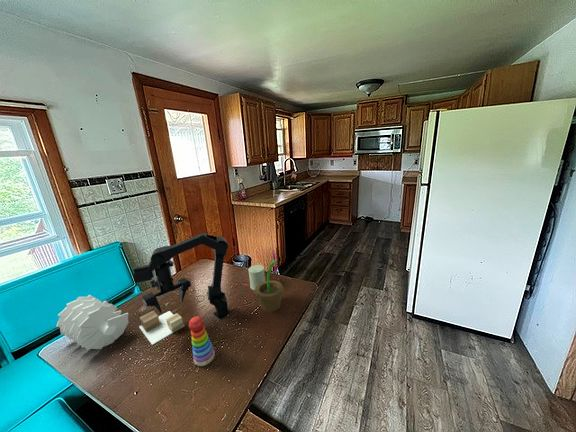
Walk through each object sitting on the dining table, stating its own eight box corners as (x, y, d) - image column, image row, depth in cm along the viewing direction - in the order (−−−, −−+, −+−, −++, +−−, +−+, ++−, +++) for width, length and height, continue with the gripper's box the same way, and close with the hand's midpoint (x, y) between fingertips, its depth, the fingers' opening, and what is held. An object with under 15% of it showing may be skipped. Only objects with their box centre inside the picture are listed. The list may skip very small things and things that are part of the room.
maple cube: (183, 326, 106) (181, 317, 105) (172, 333, 103) (170, 323, 101) (179, 321, 109) (177, 312, 108) (168, 327, 106) (166, 318, 105)
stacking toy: (208, 346, 95) (200, 307, 90) (219, 356, 90) (211, 315, 85) (189, 360, 89) (180, 319, 84) (200, 371, 84) (191, 329, 79)
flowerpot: (286, 312, 112) (282, 256, 103) (257, 317, 110) (250, 260, 102) (282, 295, 125) (278, 244, 117) (256, 299, 123) (250, 247, 115)
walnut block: (160, 324, 108) (158, 315, 107) (146, 332, 104) (143, 323, 103) (155, 319, 112) (153, 310, 111) (142, 326, 108) (139, 317, 107)
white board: (184, 326, 107) (184, 325, 107) (152, 345, 97) (151, 344, 97) (169, 311, 118) (169, 310, 118) (139, 327, 108) (139, 326, 108)
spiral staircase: (105, 360, 96) (74, 341, 106) (139, 320, 108) (108, 306, 118) (70, 343, 84) (39, 323, 94) (112, 300, 96) (80, 286, 106)
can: (247, 289, 133) (245, 271, 129) (254, 281, 141) (252, 263, 138) (262, 291, 130) (260, 272, 127) (268, 282, 138) (266, 264, 135)
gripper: (177, 263, 111) (183, 291, 115) (134, 280, 98) (142, 311, 102) (188, 269, 104) (194, 299, 108) (142, 289, 90) (151, 322, 95)
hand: (171, 307), depth 103 cm, fingers open, 9 cm apart
